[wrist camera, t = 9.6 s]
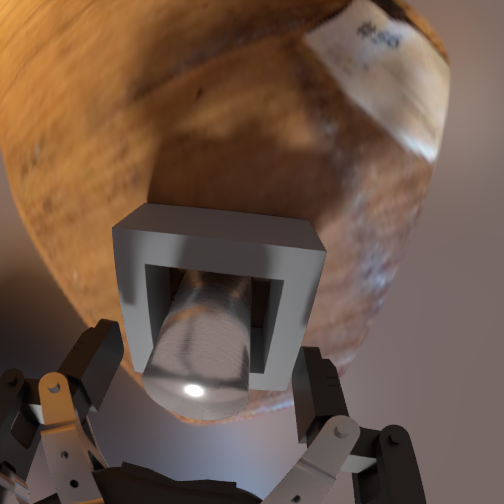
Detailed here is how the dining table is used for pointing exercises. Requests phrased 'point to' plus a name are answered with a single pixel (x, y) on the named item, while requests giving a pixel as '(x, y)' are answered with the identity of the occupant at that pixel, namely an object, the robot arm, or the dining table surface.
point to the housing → (219, 261)
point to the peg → (203, 348)
